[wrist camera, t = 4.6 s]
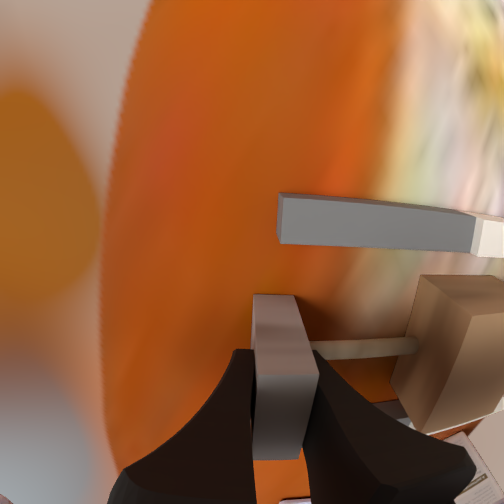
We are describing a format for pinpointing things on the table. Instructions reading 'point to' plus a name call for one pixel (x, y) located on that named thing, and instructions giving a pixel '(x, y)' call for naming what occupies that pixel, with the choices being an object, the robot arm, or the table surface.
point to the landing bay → (372, 233)
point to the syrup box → (477, 477)
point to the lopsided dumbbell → (408, 363)
